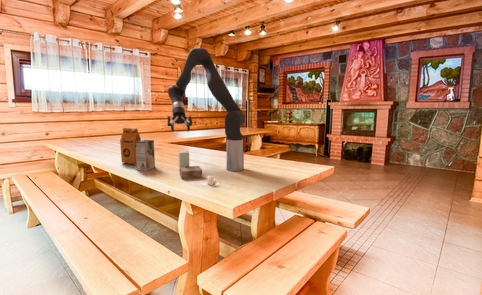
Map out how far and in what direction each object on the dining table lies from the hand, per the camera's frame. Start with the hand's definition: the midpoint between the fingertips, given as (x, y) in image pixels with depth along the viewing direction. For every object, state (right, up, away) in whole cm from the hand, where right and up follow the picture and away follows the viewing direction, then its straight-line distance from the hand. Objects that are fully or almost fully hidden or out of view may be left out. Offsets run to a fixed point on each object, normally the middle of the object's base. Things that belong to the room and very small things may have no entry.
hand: (180, 130), depth 155 cm
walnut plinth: (+9, -25, -18) cm, 32 cm away
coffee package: (-32, -20, +11) cm, 39 cm away
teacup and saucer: (+24, -27, -31) cm, 47 cm away
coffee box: (-19, -22, -3) cm, 29 cm away
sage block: (+4, -23, -9) cm, 25 cm away
